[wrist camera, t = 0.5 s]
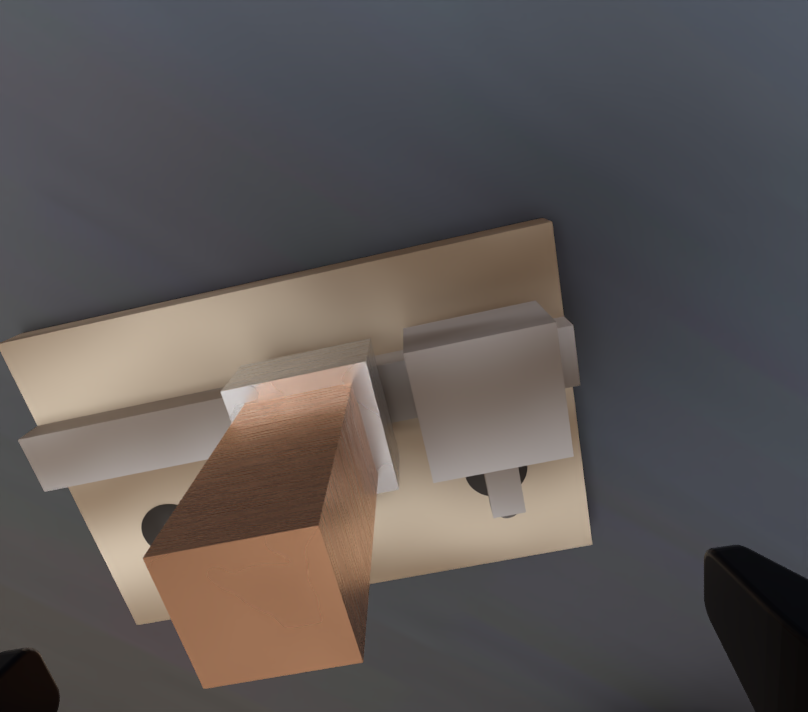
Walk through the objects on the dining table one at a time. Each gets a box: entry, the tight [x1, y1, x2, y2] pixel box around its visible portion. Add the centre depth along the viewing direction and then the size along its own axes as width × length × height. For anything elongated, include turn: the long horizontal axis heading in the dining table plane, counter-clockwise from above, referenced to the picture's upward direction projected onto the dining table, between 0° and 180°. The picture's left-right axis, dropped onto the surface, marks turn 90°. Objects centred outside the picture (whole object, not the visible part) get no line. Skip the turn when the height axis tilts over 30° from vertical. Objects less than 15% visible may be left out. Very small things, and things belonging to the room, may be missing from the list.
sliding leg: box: [143, 338, 400, 689], centre depth 14 cm, size 6×4×9 cm, turn 12°
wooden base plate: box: [0, 218, 592, 625], centre depth 18 cm, size 12×18×4 cm, turn 102°
